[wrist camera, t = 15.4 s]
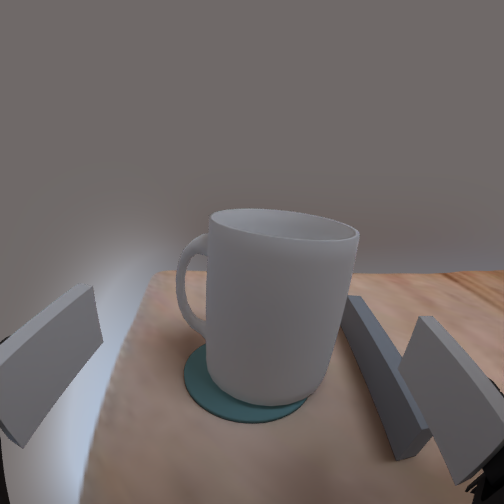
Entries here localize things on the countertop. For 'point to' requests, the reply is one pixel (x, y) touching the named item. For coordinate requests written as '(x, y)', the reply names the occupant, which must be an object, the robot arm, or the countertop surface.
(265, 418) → the pad
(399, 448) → the wall
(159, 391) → the countertop surface
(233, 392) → the mug
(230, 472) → the countertop surface
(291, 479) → the countertop surface
